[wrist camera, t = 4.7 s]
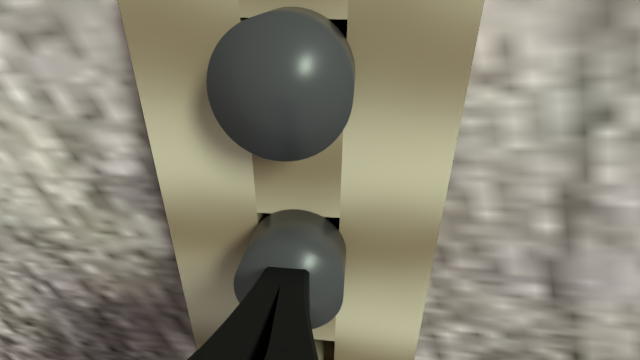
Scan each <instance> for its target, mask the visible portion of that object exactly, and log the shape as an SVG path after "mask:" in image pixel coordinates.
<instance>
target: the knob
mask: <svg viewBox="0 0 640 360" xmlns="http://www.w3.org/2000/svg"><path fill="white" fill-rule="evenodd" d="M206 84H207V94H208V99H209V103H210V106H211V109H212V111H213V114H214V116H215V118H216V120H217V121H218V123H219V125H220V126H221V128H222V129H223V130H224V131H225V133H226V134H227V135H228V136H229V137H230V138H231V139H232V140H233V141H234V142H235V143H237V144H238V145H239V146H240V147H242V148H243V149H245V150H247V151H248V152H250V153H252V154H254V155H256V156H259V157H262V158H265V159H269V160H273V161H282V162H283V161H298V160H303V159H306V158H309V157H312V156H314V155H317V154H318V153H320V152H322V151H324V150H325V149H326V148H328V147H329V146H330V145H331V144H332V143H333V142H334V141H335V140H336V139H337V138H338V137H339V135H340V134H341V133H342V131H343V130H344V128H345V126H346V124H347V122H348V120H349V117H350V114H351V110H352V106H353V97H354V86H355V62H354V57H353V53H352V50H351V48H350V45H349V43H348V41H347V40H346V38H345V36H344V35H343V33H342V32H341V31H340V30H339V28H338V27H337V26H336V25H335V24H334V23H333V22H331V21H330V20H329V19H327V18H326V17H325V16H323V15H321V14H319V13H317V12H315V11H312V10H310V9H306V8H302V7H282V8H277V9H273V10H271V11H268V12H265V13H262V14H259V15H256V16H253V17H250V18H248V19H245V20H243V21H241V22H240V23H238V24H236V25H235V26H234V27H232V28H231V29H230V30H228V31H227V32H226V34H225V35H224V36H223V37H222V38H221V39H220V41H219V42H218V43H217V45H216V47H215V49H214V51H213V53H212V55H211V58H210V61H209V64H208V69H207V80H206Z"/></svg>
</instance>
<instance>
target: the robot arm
mask: <svg viewBox="0 0 640 360" xmlns="http://www.w3.org/2000/svg"><path fill="white" fill-rule="evenodd" d="M188 360H319V359H318V355H317V351H316V346H315V342H314V337H313V332H312V327H311V320H310V284H309V272H308V271H307V270H306V269H293V268H280V267H267V268H266V269H265V270H264V271H263V273H262V274H261V276H260V277H259V279H258V280H257V281H256V283H255V284H254V286H253V287H252V288H251V290H250V291H249V292H248V294H247V295H246V296H245V297H244V299H243V300H242V301H241V302H240V304H239V305H238V306H237V307H236V308H235V310H234V311H233V312H232V313H231V315H230V316H229V317H228V318H227V319H226V320H225V321H224V322H223V324H222V325H221V326H220V327H219V328H218V329H217V330H216V331H215V332H214V333H213V335H212V336H211V337H210V338H209V339H208V340H207V341H206V342H205V343H204V344H203V345H202V346H201V347H200V348H199V349H198V350H197V351H196V352H195V353H194V354H193V355H192V356H191V357H190V358H189V359H188Z"/></svg>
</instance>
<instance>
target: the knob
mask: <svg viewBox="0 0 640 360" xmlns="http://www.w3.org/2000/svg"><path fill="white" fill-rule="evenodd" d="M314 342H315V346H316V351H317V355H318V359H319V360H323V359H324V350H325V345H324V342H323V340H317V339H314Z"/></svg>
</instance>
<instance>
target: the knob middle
mask: <svg viewBox="0 0 640 360" xmlns="http://www.w3.org/2000/svg"><path fill="white" fill-rule="evenodd" d="M329 220H330V217H322V216H320V215H318V214H315V213H313V212H309V211H305V210H298V209H290V210H282V211H278V212H275V213H273V214H271V215H269V216H267V217H266V218H264V219H263V220H262V221H261V222H260V223H259V224H258V225H257V227H256V228H255V230H254V232H253V234H252V237H251V239H250V241H249V244H248V246H247V248H246V250H245V253H244V255H243V257H242V260H241V262H240V264H239V266H238V269H237V271H236V273H235V277H234V292H235V295H236V298H237V300H238V302H239V303H240V302H241V301H242V300H243V299H244V297H245V296H246V295H247V294H248V292H249V291H250V290H251V288H252V287H253V286H254V284H255V283H256V281H257V280H258V279H259V277H260V276H261V274H262V273H263V271H264V270H265V269H266V268H267V267H280V268H293V269H306V270H307V271H308V272H309V284H310V320H311V327H312V329H316V328H318V327H321V326H323V325H325V324H327V323H328V322H330V321H331V320H332V319H333V318H334V317H335V316H336V315H337V314H338V312H339V311H340V309H341V306H342V303H343V295H344V280H345V265H346V245H345V241H344V239H343V237H342V235H341V233H340V232H339V230H338V229H337V228H336V227H335V226H334V225H333V224H332V223H331V222H330V221H329Z"/></svg>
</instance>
